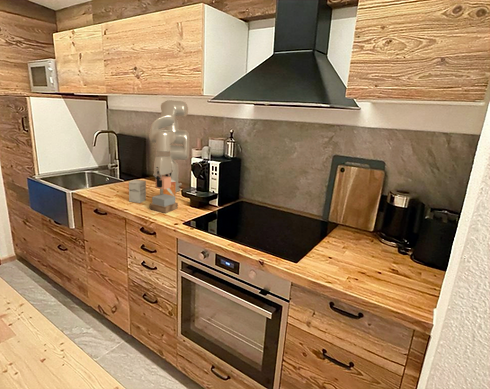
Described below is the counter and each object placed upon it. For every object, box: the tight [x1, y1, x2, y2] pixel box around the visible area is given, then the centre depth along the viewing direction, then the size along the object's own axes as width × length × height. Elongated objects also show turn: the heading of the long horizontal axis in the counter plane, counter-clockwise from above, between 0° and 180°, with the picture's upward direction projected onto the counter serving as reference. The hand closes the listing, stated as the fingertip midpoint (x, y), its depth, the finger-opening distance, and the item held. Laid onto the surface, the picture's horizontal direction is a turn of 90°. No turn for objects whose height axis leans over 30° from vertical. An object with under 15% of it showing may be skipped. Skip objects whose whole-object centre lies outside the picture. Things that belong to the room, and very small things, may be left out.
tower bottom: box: [149, 201, 179, 214], centre depth 172 cm, size 11×11×4 cm
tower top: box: [151, 193, 176, 207], centre depth 171 cm, size 9×9×4 cm
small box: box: [159, 180, 177, 197], centre depth 186 cm, size 8×6×13 cm
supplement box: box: [128, 179, 147, 204], centre depth 181 cm, size 7×7×13 cm
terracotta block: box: [155, 175, 171, 190], centre depth 168 cm, size 6×6×6 cm
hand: (163, 185), depth 168 cm, fingers closed on terracotta block, 6 cm apart
